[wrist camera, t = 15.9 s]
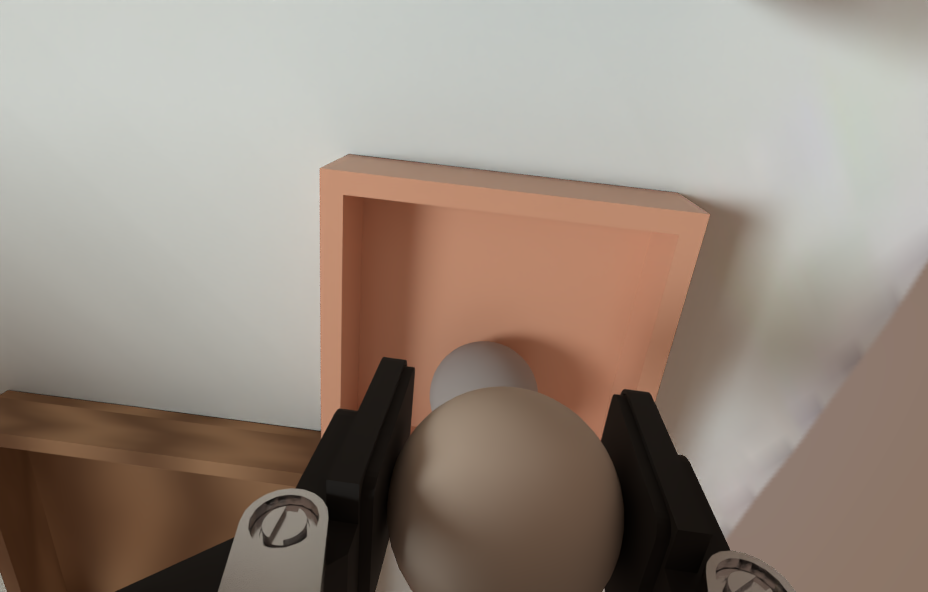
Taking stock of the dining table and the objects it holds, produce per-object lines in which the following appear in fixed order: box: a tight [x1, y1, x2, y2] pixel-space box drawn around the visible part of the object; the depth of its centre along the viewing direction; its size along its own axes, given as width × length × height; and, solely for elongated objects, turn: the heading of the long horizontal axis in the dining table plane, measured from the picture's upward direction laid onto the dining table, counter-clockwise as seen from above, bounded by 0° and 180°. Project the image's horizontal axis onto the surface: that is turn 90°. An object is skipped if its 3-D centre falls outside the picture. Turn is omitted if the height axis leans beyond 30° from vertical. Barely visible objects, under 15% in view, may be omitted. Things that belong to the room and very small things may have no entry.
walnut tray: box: [0, 390, 321, 592], centre depth 28 cm, size 18×16×3 cm
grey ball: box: [430, 341, 538, 411], centre depth 21 cm, size 4×4×4 cm
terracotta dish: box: [320, 154, 710, 441], centre depth 21 cm, size 13×13×4 cm
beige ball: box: [387, 387, 624, 592], centre depth 10 cm, size 4×4×4 cm
